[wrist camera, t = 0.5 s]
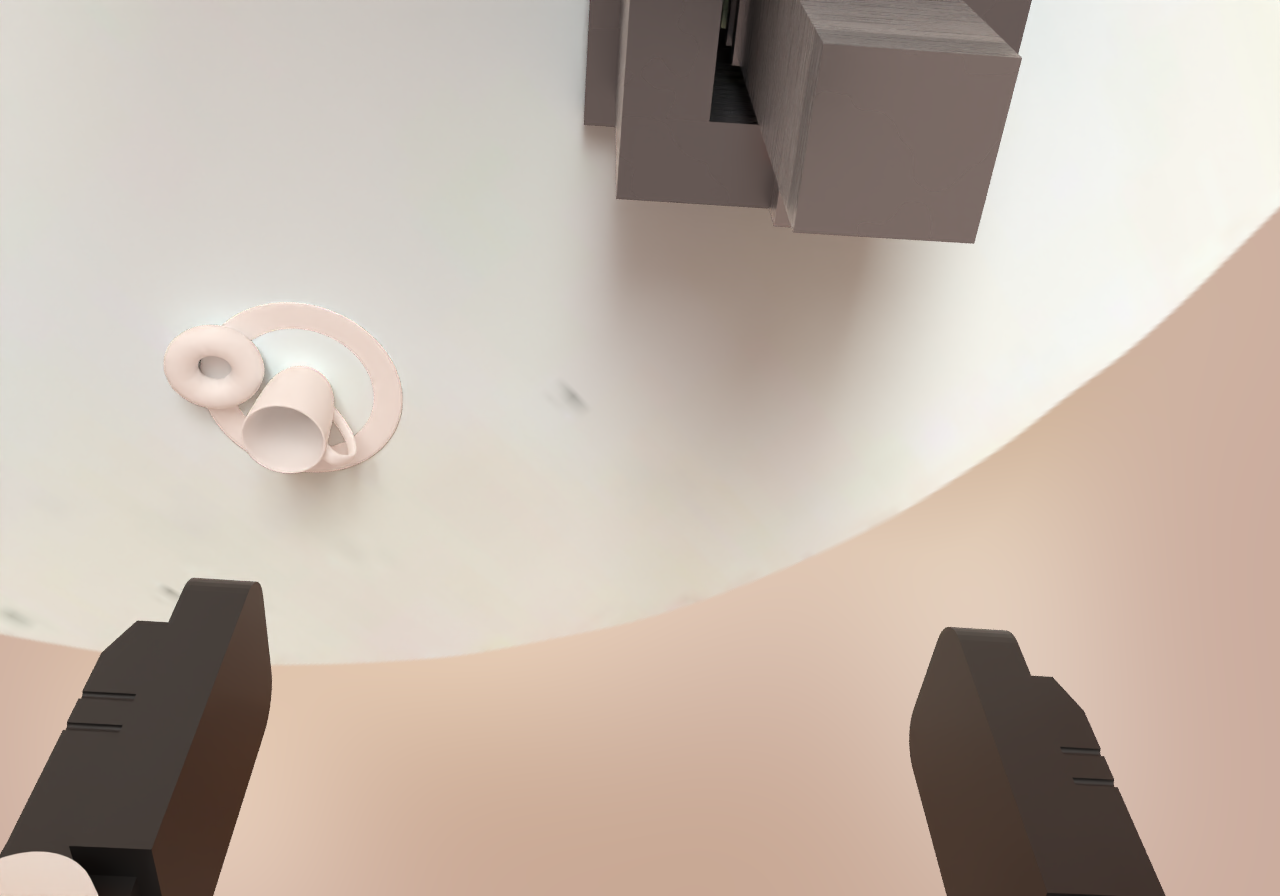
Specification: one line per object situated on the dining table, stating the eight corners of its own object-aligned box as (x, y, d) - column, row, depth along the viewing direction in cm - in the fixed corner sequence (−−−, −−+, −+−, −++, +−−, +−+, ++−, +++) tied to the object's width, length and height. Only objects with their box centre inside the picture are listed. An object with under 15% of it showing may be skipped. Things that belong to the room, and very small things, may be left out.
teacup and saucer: (145, 349, 46) (108, 404, 42) (293, 242, 43) (266, 292, 40) (301, 495, 50) (279, 555, 47) (444, 405, 47) (432, 462, 44)
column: (726, -130, 36) (816, 34, 20) (850, -120, 36) (1032, 50, 21) (712, 0, 38) (784, 238, 23) (829, 9, 39) (979, 250, 23)
